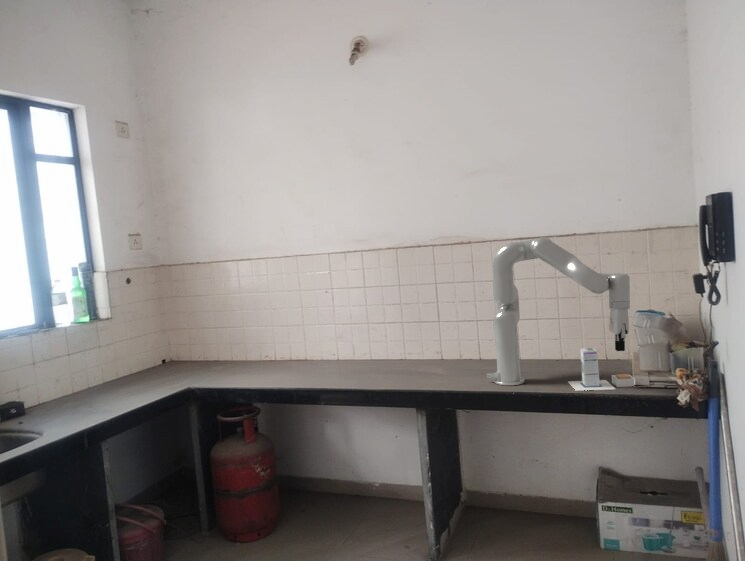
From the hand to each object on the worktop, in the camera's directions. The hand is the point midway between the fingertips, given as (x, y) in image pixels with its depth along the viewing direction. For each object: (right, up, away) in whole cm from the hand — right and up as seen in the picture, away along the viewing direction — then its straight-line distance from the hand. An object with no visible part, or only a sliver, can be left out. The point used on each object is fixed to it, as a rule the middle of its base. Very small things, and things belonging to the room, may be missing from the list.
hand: (619, 350), depth 222 cm
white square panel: (-11, -15, +2) cm, 18 cm away
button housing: (+2, -14, +1) cm, 14 cm away
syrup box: (-11, -14, +2) cm, 18 cm away
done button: (+2, -12, +1) cm, 13 cm away
